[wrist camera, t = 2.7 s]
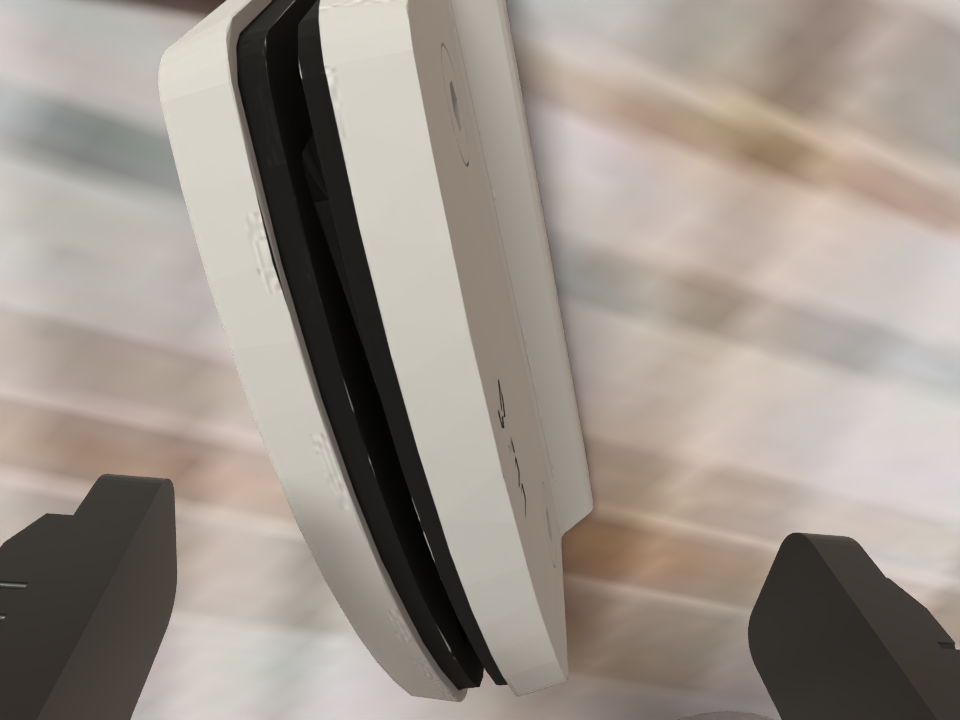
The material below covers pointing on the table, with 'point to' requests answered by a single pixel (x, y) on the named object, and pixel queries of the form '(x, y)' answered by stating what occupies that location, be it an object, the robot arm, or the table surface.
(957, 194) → the table surface
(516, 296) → the white curved piece
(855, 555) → the robot arm
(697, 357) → the table surface
